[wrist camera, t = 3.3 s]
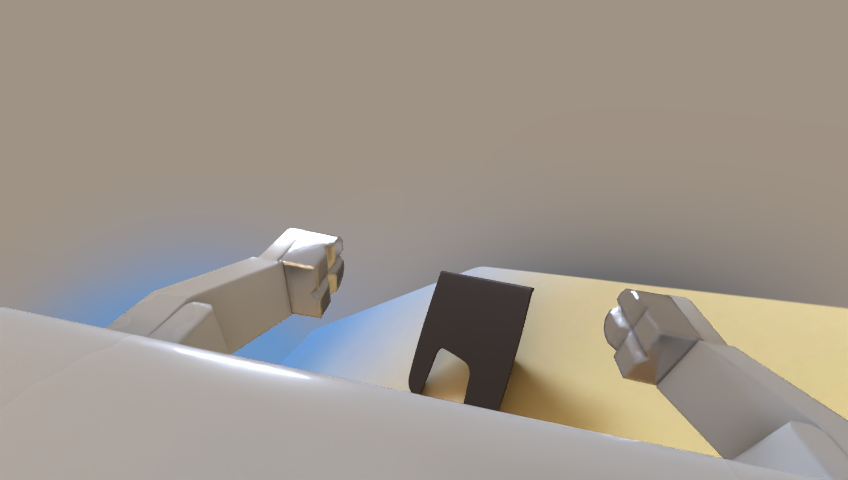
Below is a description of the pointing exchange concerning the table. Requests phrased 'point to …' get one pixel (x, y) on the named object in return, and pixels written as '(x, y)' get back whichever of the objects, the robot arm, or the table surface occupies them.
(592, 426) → the table surface
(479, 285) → the laptop tray
